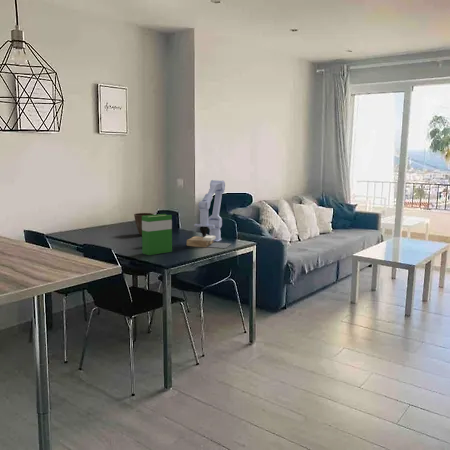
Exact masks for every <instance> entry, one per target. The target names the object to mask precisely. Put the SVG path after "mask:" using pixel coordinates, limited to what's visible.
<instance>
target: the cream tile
mask: <svg viewBox="0 0 450 450" xmlns="http://www.w3.org/2000/svg"><path fill="white" fill-rule="evenodd" d="M202 237H203V236H202ZM214 239H216V236H210V234H209V235H207V234H206V236H205V237H203V240H206V241H212V240H214Z"/></svg>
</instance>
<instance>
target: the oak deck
mask: <svg viewBox="0 0 450 450" xmlns="http://www.w3.org/2000/svg"><path fill="white" fill-rule="evenodd" d="M212 243H214V241H213V240H212V241H206V240H203V236H198V235H197V236H196V235H194V236H192V237H191V238H188V239H186V246H187V247H196V248H208V247H207V246H209V245H210V244H212Z"/></svg>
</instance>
